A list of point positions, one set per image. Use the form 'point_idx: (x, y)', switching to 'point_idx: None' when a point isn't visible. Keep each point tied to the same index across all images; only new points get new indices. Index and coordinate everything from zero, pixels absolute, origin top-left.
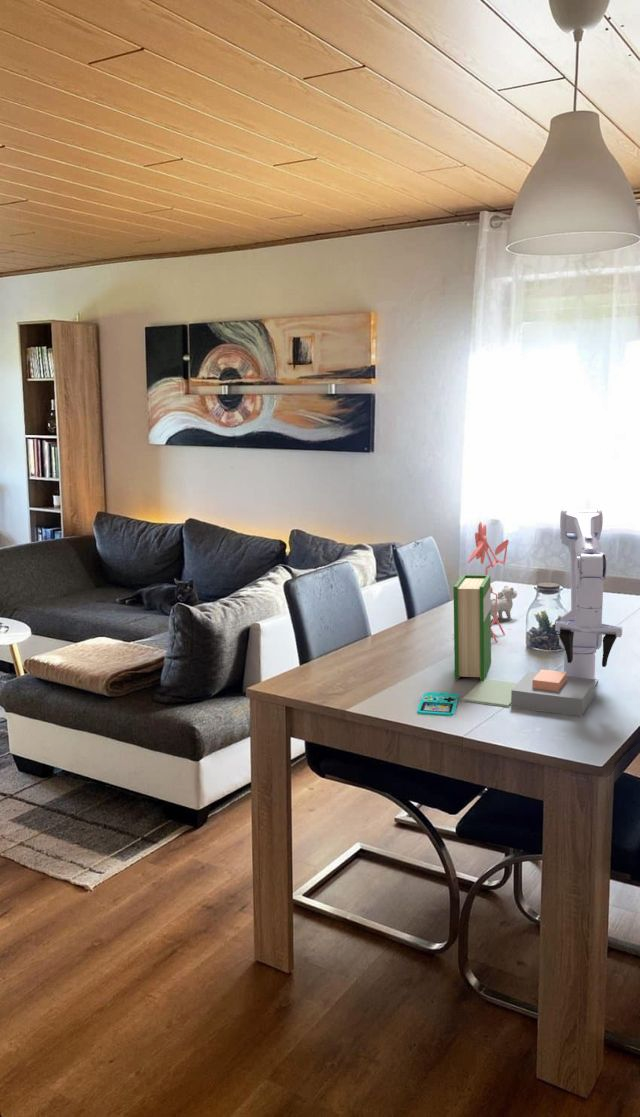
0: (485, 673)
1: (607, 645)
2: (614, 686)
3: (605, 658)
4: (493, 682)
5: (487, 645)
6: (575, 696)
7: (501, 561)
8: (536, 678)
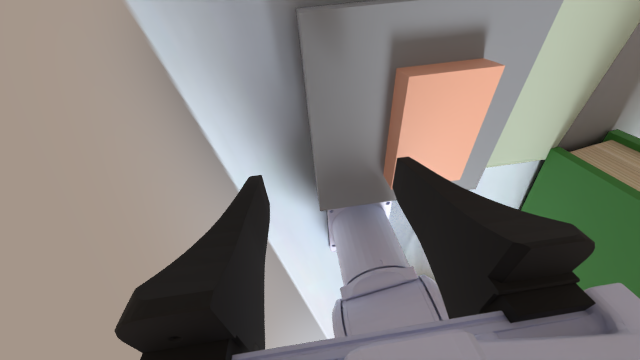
0: (547, 174)
1: (196, 260)
2: (297, 238)
3: (236, 199)
4: (531, 148)
5: None
6: (331, 39)
7: None
8: (487, 89)
